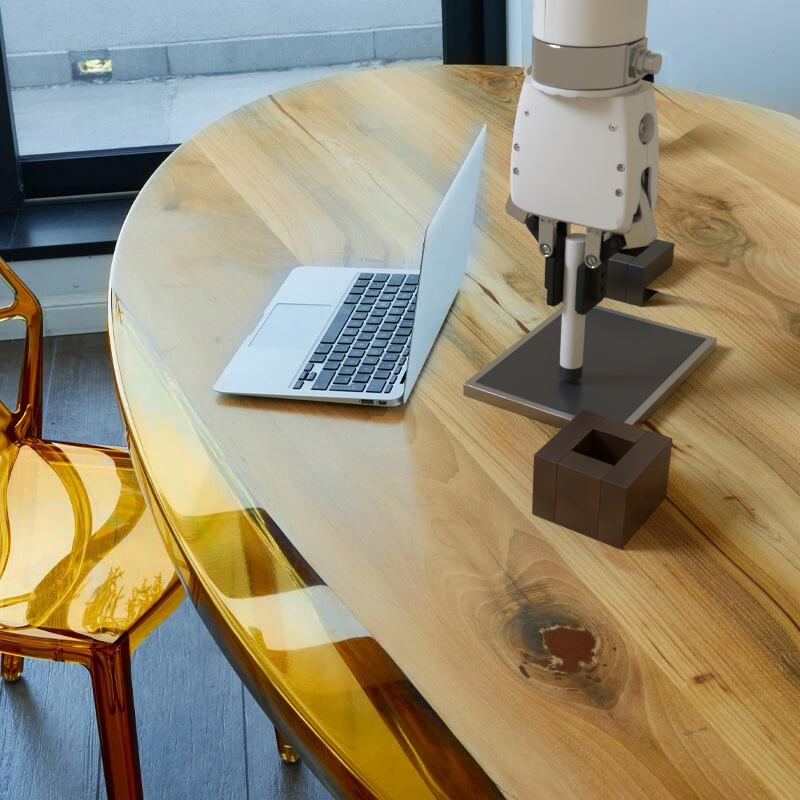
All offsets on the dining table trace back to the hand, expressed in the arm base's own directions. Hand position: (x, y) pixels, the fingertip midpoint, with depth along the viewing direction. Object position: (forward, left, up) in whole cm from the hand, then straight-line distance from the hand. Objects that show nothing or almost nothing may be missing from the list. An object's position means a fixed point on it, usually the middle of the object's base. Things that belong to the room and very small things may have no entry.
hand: (574, 302), depth 83 cm
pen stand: (-9, +12, -8) cm, 17 cm away
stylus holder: (+5, -20, -8) cm, 22 cm away
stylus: (0, 0, -7) cm, 7 cm away
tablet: (0, -4, -8) cm, 9 cm away
